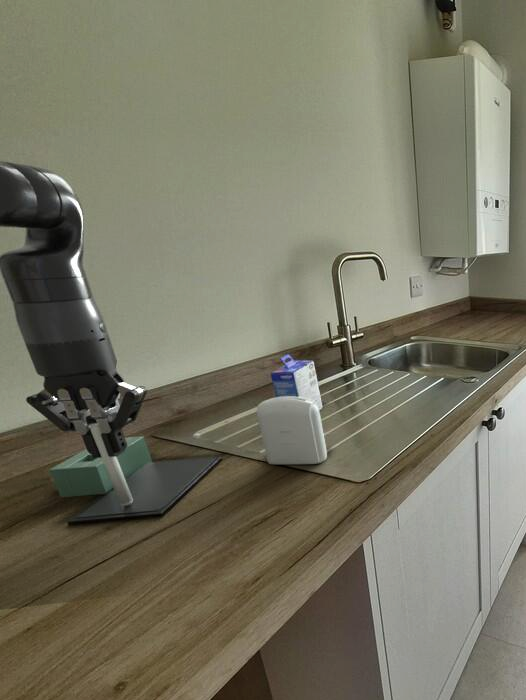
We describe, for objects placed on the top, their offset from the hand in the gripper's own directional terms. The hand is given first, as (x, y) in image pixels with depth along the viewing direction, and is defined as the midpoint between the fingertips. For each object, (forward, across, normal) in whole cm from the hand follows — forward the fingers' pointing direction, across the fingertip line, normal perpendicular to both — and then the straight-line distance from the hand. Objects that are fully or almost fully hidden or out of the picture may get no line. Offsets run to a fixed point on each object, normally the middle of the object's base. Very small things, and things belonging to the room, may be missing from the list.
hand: (110, 454), depth 58 cm
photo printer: (+9, +20, +12) cm, 25 cm away
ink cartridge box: (+10, +14, +34) cm, 38 cm away
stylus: (+8, 0, 0) cm, 8 cm away
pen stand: (+9, -10, +11) cm, 17 cm away
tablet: (+9, 0, +6) cm, 11 cm away
